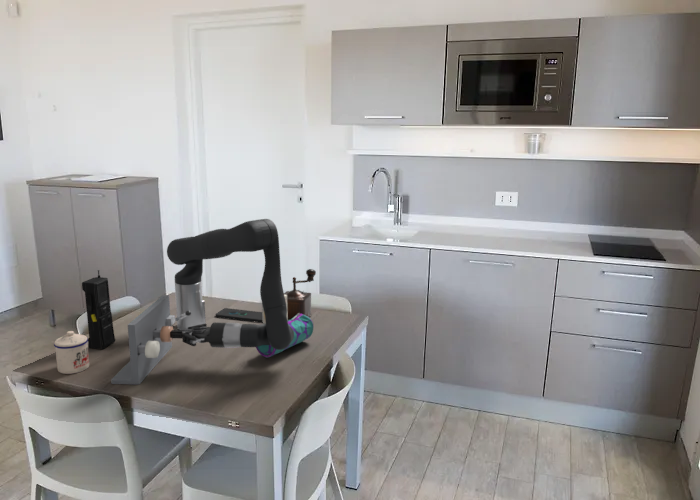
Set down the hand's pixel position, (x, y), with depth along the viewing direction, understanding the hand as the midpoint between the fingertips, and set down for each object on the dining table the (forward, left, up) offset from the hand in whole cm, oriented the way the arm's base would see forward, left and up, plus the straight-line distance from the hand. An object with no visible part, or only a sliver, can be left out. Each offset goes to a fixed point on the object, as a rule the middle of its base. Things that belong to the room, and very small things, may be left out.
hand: (170, 334), depth 165 cm
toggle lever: (-9, -7, +1) cm, 12 cm away
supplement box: (-42, 0, -10) cm, 43 cm away
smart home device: (-42, -19, -11) cm, 47 cm away
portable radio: (+8, -30, -10) cm, 33 cm away
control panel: (+5, -6, -10) cm, 13 cm away
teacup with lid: (+20, -20, -10) cm, 31 cm away
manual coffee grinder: (-57, -4, -10) cm, 58 cm away
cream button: (+11, +5, -2) cm, 12 cm away
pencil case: (-32, +17, -10) cm, 38 cm away
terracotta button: (+2, -3, -2) cm, 4 cm away
